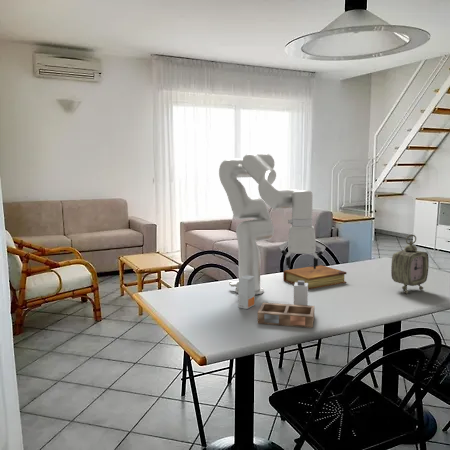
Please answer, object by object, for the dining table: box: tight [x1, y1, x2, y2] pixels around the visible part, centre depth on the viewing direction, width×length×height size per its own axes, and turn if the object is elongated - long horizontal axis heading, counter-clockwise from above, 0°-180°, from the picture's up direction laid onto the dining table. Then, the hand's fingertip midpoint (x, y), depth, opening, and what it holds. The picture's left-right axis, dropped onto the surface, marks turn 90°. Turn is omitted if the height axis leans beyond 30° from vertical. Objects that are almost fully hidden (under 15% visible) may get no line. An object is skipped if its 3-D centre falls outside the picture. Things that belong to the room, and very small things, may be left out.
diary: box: [282, 264, 348, 290], centre depth 212 cm, size 23×19×6 cm
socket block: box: [257, 302, 315, 329], centre depth 158 cm, size 19×12×4 cm, turn 76°
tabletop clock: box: [390, 234, 430, 295], centre depth 194 cm, size 14×9×25 cm, turn 123°
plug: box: [293, 280, 309, 306], centre depth 170 cm, size 5×5×11 cm
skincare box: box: [238, 275, 256, 310], centre depth 174 cm, size 6×4×12 cm
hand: (301, 267), depth 168 cm, fingers open, 9 cm apart
